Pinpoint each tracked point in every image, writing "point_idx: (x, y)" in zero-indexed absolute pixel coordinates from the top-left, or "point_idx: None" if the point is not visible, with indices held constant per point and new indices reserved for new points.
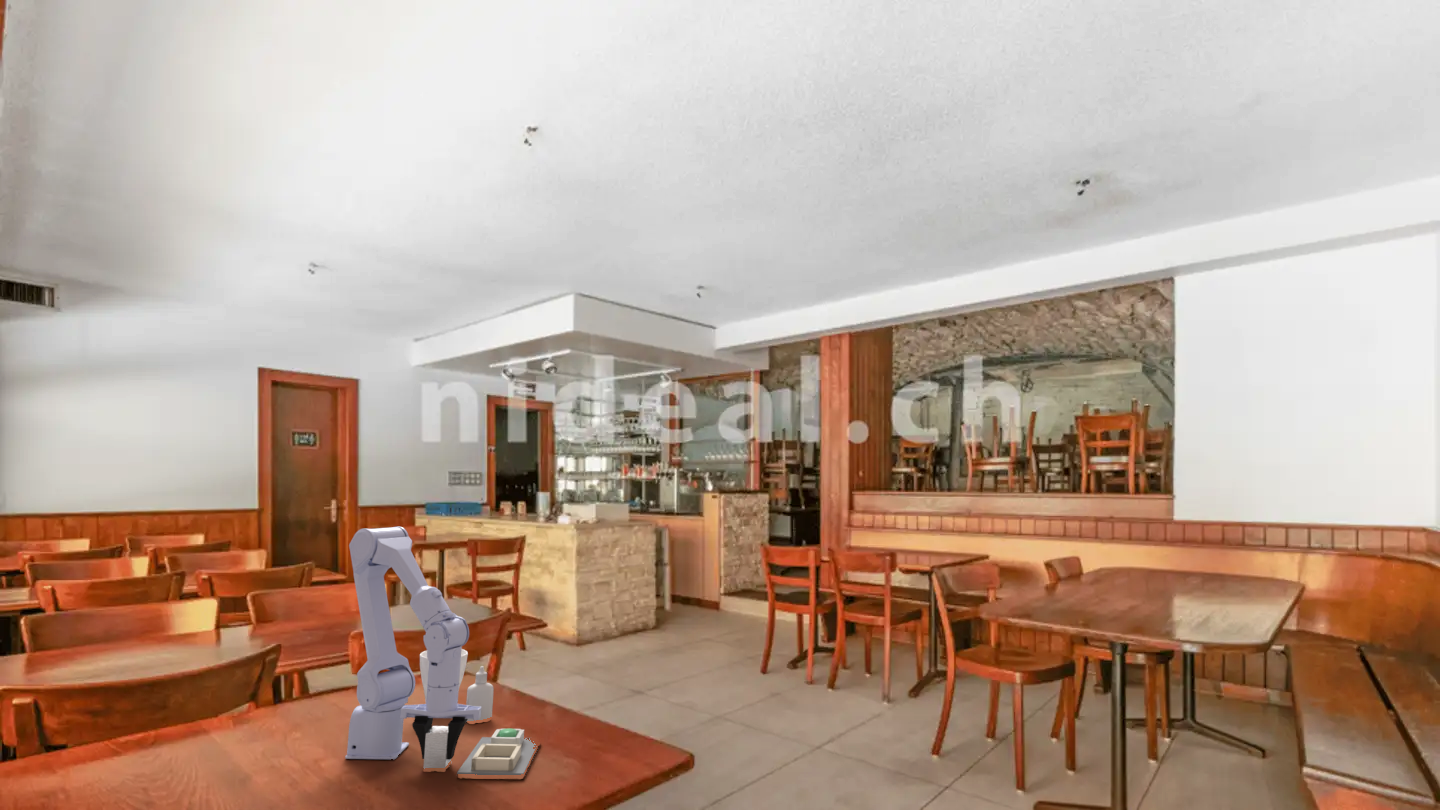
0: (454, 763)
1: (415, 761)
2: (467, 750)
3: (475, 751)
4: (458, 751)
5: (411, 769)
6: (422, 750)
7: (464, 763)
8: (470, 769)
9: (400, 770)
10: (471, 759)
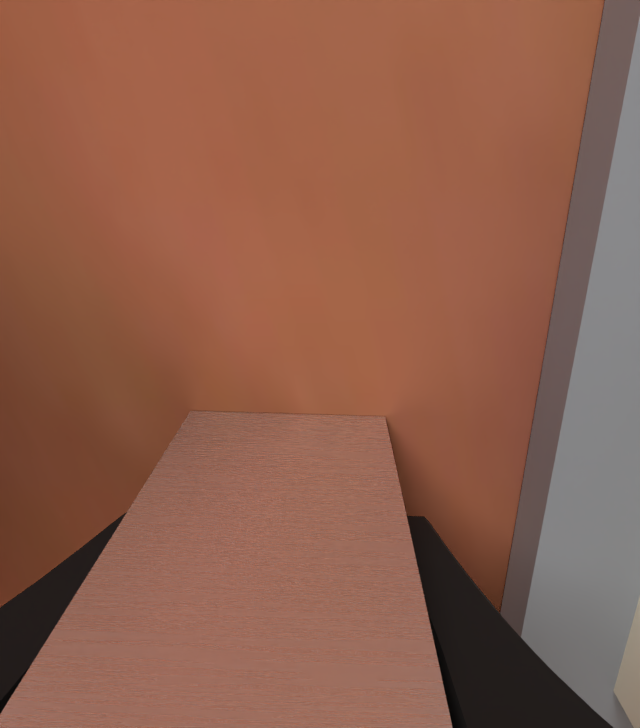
0: (411, 403)
1: (37, 363)
2: (485, 22)
3: (632, 276)
4: (382, 63)
5: (87, 523)
6: None
7: (541, 576)
8: (608, 686)
9: (11, 541)
10: (600, 493)
